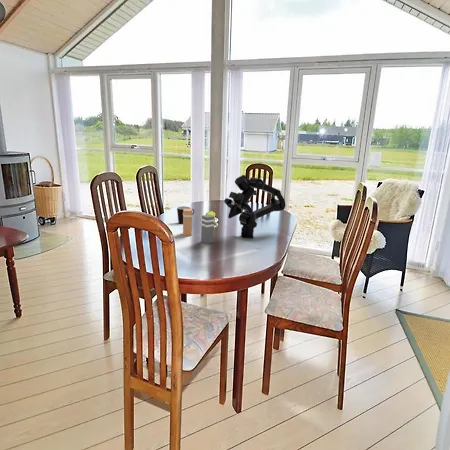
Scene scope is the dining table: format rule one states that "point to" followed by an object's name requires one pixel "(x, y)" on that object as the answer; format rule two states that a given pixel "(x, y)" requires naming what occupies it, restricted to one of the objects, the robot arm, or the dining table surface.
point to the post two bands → (207, 229)
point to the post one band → (187, 222)
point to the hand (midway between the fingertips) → (228, 217)
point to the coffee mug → (180, 213)
